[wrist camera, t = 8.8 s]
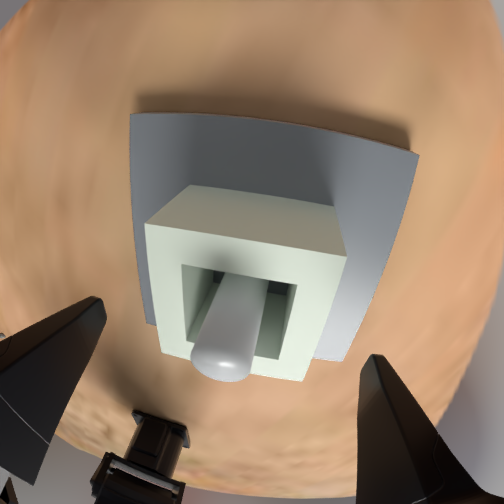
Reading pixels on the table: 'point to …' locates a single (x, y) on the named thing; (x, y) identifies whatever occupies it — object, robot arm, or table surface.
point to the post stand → (274, 184)
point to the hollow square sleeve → (245, 269)
